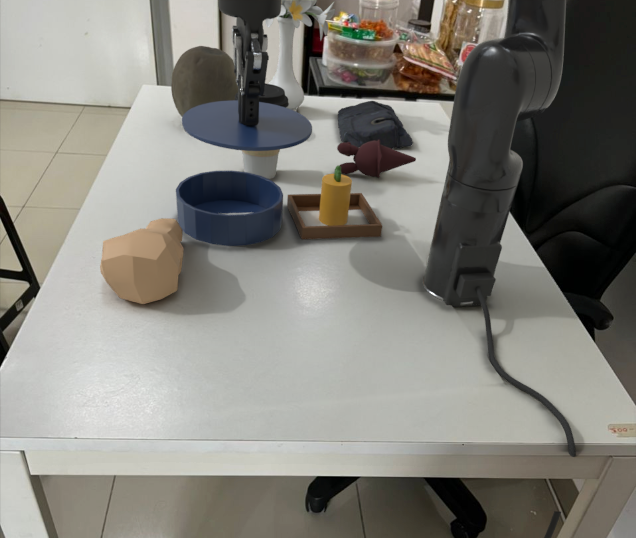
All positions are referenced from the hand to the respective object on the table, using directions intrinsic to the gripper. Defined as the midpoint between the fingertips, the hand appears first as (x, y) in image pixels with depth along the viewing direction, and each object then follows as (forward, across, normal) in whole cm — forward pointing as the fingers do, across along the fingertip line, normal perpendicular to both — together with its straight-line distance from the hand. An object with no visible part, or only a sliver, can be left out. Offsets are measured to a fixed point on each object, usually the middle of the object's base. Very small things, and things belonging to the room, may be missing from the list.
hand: (248, 119), depth 86 cm
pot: (+19, -8, -1) cm, 21 cm away
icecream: (+20, -26, +29) cm, 44 cm away
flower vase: (+20, -63, +19) cm, 69 cm away
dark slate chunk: (+20, -50, +36) cm, 65 cm away
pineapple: (+19, -8, +16) cm, 26 cm away
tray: (+19, -7, +16) cm, 26 cm away
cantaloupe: (+20, -53, 0) cm, 57 cm away
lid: (+1, 0, 0) cm, 1 cm away
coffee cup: (+20, -27, +7) cm, 34 cm away
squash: (+19, +6, -15) cm, 25 cm away
